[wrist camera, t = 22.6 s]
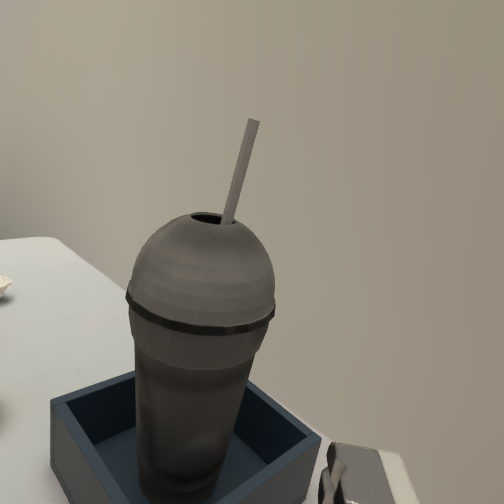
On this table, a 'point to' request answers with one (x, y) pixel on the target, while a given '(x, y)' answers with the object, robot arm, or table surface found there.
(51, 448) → the freezer basket
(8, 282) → the toy car
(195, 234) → the beverage cup
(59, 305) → the table surface
